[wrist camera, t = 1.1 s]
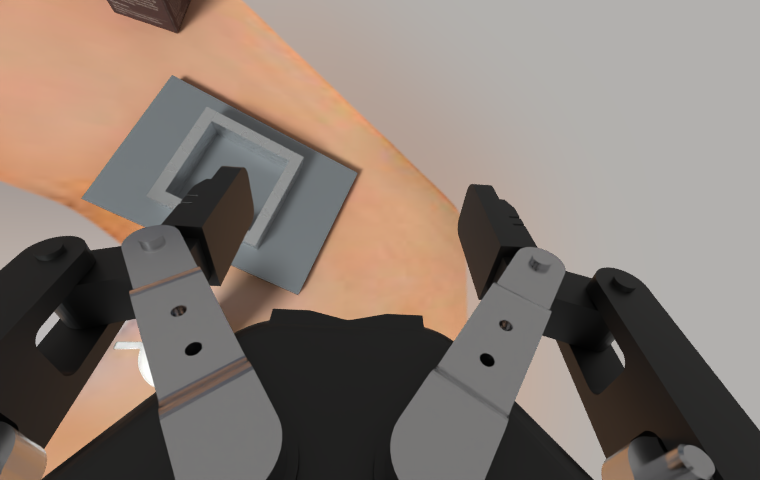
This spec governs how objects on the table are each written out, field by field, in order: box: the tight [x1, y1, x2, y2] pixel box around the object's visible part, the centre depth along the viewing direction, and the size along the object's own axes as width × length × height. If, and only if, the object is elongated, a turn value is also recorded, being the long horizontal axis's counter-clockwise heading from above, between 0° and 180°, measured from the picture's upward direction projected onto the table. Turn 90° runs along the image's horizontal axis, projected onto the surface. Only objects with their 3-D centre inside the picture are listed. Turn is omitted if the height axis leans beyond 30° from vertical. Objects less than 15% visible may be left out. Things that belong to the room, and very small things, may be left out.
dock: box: [81, 75, 357, 295], centre depth 31 cm, size 20×14×4 cm
